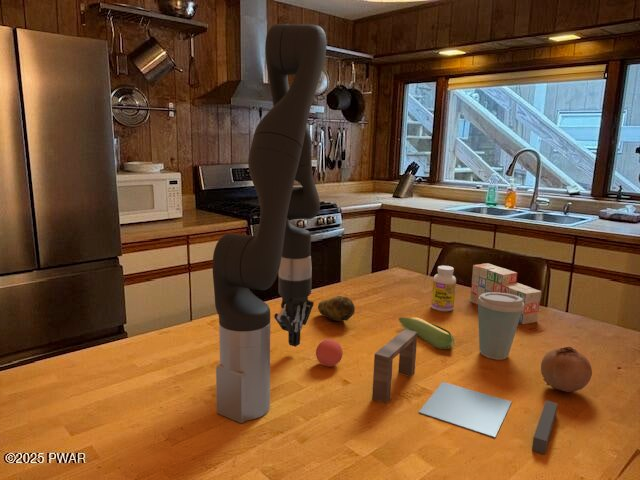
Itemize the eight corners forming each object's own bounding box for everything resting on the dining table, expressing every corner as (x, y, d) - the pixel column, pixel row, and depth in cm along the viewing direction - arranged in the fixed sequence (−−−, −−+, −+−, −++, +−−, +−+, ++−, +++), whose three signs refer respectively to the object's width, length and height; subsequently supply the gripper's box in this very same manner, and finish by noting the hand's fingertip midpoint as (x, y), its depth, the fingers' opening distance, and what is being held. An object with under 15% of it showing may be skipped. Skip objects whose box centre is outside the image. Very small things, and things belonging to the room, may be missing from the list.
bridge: (386, 403, 96) (388, 357, 94) (372, 398, 98) (374, 353, 96) (414, 373, 109) (417, 332, 106) (401, 369, 110) (404, 328, 108)
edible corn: (443, 355, 119) (444, 337, 118) (393, 326, 136) (394, 310, 135) (459, 351, 121) (461, 334, 120) (408, 323, 138) (409, 307, 137)
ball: (333, 374, 107) (334, 348, 106) (310, 366, 110) (311, 341, 109) (346, 363, 112) (347, 339, 111) (324, 356, 115) (325, 332, 114)
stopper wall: (544, 454, 82) (546, 441, 81) (531, 450, 83) (533, 437, 82) (555, 415, 94) (557, 403, 93) (544, 412, 95) (546, 400, 94)
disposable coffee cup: (462, 348, 122) (468, 290, 119) (497, 342, 126) (504, 286, 123) (491, 367, 112) (498, 304, 109) (528, 360, 116) (536, 300, 113)
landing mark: (495, 438, 86) (495, 437, 86) (418, 412, 93) (418, 411, 93) (511, 402, 98) (511, 401, 98) (442, 382, 105) (442, 381, 105)
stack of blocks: (538, 322, 141) (543, 281, 138) (522, 325, 138) (527, 283, 136) (484, 299, 160) (488, 262, 157) (469, 301, 157) (472, 264, 155)
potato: (343, 312, 145) (344, 286, 143) (357, 329, 132) (358, 300, 131) (315, 314, 142) (316, 287, 141) (327, 331, 130) (328, 302, 129)
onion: (560, 405, 97) (566, 358, 95) (528, 382, 106) (533, 339, 104) (599, 400, 100) (606, 354, 97) (565, 377, 108) (571, 335, 106)
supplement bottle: (430, 310, 148) (433, 269, 145) (431, 303, 154) (434, 263, 151) (453, 313, 146) (456, 271, 143) (453, 306, 152) (457, 265, 149)
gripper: (291, 284, 105) (290, 359, 109) (324, 270, 116) (322, 339, 120) (263, 278, 109) (264, 351, 113) (298, 265, 120) (297, 331, 124)
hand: (294, 344), depth 116 cm, fingers closed
